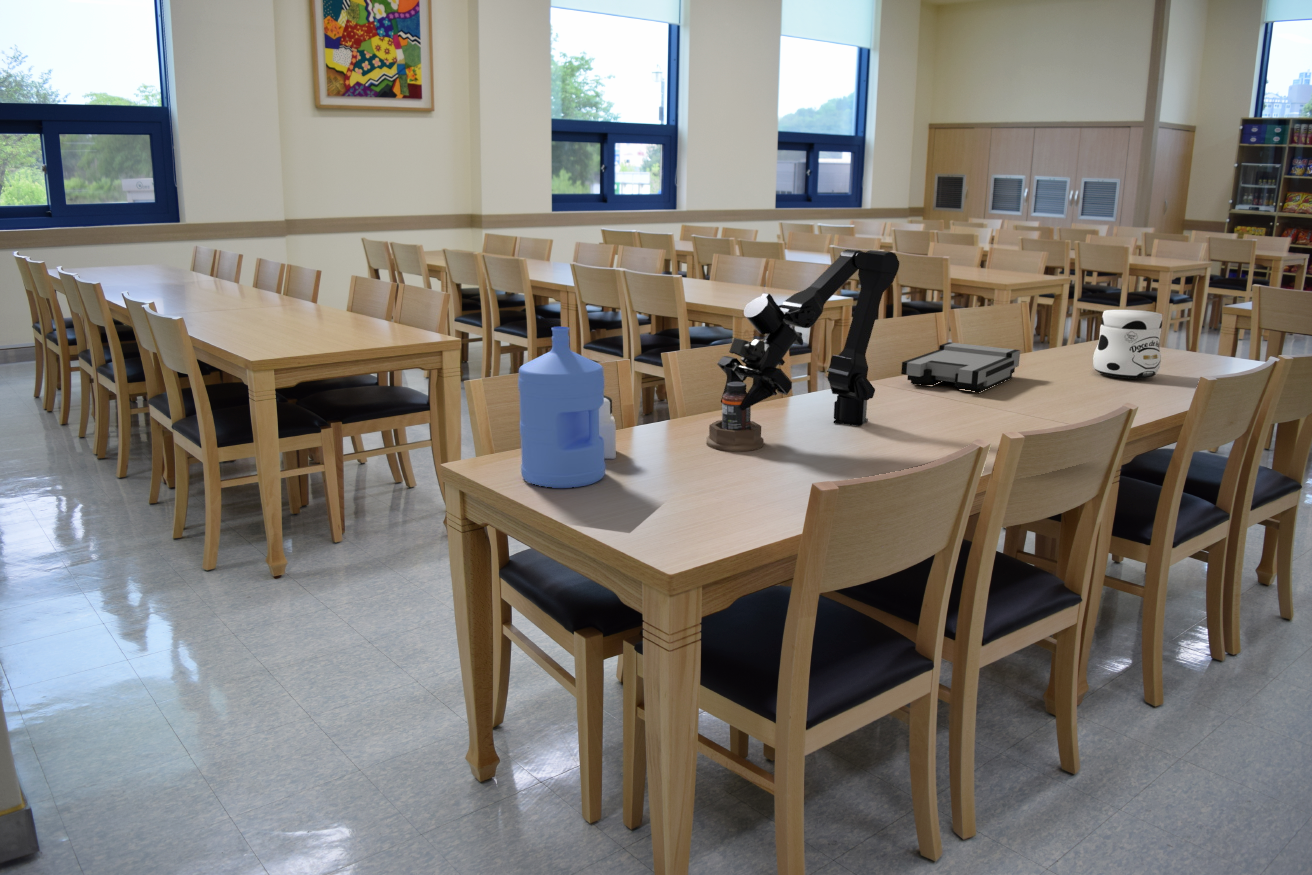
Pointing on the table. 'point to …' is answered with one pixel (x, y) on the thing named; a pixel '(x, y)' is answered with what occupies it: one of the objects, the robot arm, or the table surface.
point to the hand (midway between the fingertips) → (731, 406)
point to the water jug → (561, 417)
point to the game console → (963, 366)
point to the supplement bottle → (735, 408)
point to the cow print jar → (1129, 344)
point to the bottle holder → (734, 438)
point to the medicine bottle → (607, 428)
